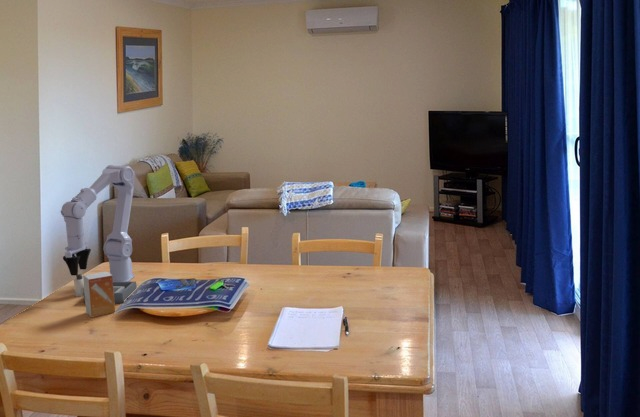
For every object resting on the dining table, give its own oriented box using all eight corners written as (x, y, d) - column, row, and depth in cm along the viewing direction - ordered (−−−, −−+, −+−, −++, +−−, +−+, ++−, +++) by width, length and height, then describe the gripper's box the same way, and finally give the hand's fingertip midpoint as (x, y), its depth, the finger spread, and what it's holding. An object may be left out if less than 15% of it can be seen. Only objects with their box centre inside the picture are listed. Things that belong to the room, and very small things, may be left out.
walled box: (99, 290, 265) (98, 281, 264) (136, 290, 263) (136, 281, 263) (84, 302, 251) (83, 293, 250) (123, 303, 250) (122, 293, 249)
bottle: (77, 293, 262) (76, 273, 261) (88, 293, 262) (86, 273, 260) (73, 296, 258) (71, 276, 257) (84, 296, 258) (82, 276, 257)
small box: (91, 317, 235) (88, 279, 233) (85, 312, 241) (82, 275, 238) (116, 312, 240) (112, 274, 237) (109, 307, 245) (106, 270, 243)
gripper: (73, 230, 263) (76, 266, 266) (55, 240, 249) (59, 277, 252) (91, 230, 263) (95, 266, 265) (75, 239, 249) (78, 277, 251)
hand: (78, 272), depth 258 cm, fingers open, 7 cm apart
